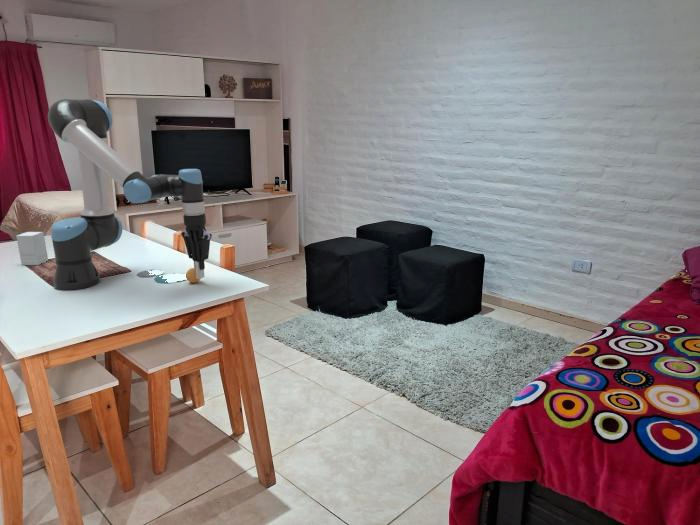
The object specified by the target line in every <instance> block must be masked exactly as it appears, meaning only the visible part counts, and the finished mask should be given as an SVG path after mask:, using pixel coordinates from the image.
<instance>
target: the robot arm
mask: <svg viewBox="0 0 700 525" xmlns="http://www.w3.org/2000/svg"><path fill="white" fill-rule="evenodd" d="M47 121H48V125H49V126H50V128H51V130H52V131H53V132H54V134H55V135H56V136H57V137H58V138H59V139H61V140H62V141H63V142H64V143H65V144H71V145H72V146H73V147H75V148H76V149H77V155H78V163H79V172H80V183H81V190H82V200H83V210H82V211H81V212H80V214H79V215H80V217H70V218H64V219H61V220H59V221H56V222H55V223H53V224H52V225H51V227H50V229H51V231H50V232H51V235H50V236H51V237H50V238H51V240H52V246H53V253H54V259H55V265H56V266H55V271H54V274H53V275H54V276H53V287H54V289H57V290H62V291H72V290H81V289H86V288H90V287H93V286H96V285H98V284H100V282H101V277H100V276H101V275H100V274H99V272H98V270H97V268H96V266H95V264H94V262H93V259H92V251H95V250H100V249H101V248H107V247H109V246H112V245H114V244H115V243H117V242H119V240H120V239H121V237H122V234H123V224H122V222H121V220H119V219H120V218H119V217H117V216H116V215H115V211H114V210H113V209H112V208H111V207H110V202H109V201H110V200H109V191H108V180H107V179H108V178H107V176H109V177H110V178H111V179H112V180H113V181H114V182H116V184H118V185H119V186H120V187H121V188H122V191H123V195H124V196H125V199H126V200H127V201H128V202H130V203H132V204H142V203H143V204H144V203H147V202H151V201H153V200H159V199H163V198H166V197H168V198H169V197H180V198H181V206H182V207H181V208H182V209H181V210H182V214H184V215H183V216H182V217H183V225H184V226H185V230H184V231H182V232H180V235H181V237H182V238H183V241H184V245H185V249H186V252H187V257H188V258H189V259H190V260H192V261H193V268H195V269H196V279H200V280H202V279H203V278H205V268H206V266H205V260H207V259H209V256H210V246H211V240H212V237H213V234H212V233H208V232H207V229H206V224H207V218H206V217H207V216H206V214H205V212H206V210H205V199H204V188H203V184H204V182H203V178H202V172H201V170H200V169H198V168H183V169H180V170H179V171H178V174H163V173H159V174H153V175H151V176H150V177H146V176H144V174H142V173H141V172H140V171H139V170H137V169H136V168H135V167H134V166H133V165H132V164H130V162H128V160H126V159H125V158H124V157H123V156H121V155H120V154H119V153H118V152H116V151H115V150H114V149H113V148H112V147H111V146H110V145H108V144H107V143H106V140H107V139H108V134H107V132H109V131H110V129H111V128H112V126H113V116H112V114H111V111H110V109H109V108H108V107H107V106H106V105H105V104H104V103H103V102H101V101H100V100H99V101H98V100H94V99H89V98H88V99H87V98H86V99H74V98H73V99H70V98H69V99H68V98H64V99H59V100H57V101H55V102H54V103H52V104H51V106H50V108H49V109H48V114H47Z"/></svg>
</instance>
